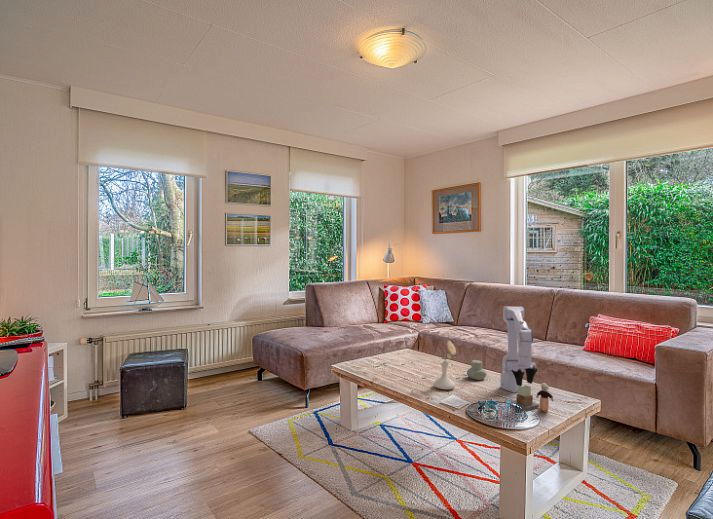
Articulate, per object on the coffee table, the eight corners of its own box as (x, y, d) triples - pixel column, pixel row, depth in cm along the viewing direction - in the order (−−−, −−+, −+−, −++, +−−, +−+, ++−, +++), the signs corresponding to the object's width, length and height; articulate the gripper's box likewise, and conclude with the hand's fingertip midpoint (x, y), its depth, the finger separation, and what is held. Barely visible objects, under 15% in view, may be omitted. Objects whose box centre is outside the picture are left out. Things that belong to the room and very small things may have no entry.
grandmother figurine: (534, 410, 184) (535, 382, 184) (536, 407, 187) (536, 380, 187) (553, 414, 179) (553, 386, 179) (554, 411, 183) (554, 383, 183)
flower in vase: (444, 392, 207) (444, 344, 206) (428, 386, 216) (429, 340, 216) (461, 388, 214) (462, 341, 214) (446, 382, 223) (446, 337, 223)
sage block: (517, 394, 190) (517, 385, 189) (523, 392, 192) (523, 384, 192) (525, 396, 186) (525, 388, 186) (530, 395, 188) (530, 386, 188)
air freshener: (471, 381, 226) (471, 363, 226) (464, 377, 234) (464, 359, 234) (488, 380, 228) (489, 362, 228) (481, 376, 236) (481, 359, 236)
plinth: (509, 405, 190) (509, 401, 190) (522, 401, 195) (522, 398, 195) (526, 411, 183) (526, 408, 183) (538, 407, 187) (538, 404, 187)
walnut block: (516, 402, 189) (516, 394, 189) (523, 400, 192) (523, 392, 192) (525, 405, 185) (525, 397, 185) (532, 403, 188) (532, 395, 188)
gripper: (522, 359, 181) (521, 389, 182) (542, 355, 189) (541, 384, 189) (509, 355, 188) (508, 384, 188) (528, 352, 195) (528, 380, 195)
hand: (524, 384), depth 189 cm, fingers open, 7 cm apart
